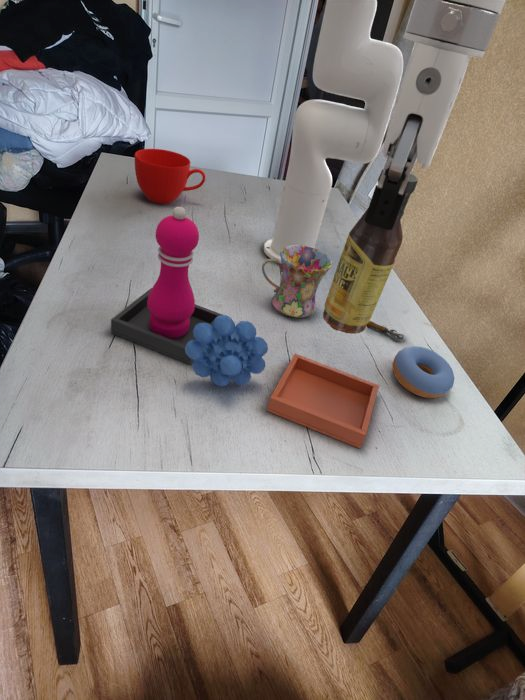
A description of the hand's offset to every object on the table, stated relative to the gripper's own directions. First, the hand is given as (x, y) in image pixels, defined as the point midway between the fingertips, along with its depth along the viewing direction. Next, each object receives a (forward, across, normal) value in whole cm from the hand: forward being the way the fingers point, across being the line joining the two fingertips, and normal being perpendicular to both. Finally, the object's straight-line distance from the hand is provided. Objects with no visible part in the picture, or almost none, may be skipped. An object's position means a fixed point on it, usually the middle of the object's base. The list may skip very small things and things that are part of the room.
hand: (382, 217), depth 54 cm
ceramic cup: (+28, +50, +53) cm, 78 cm away
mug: (+28, +21, +12) cm, 37 cm away
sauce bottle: (+15, 0, 0) cm, 15 cm away
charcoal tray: (+28, +2, +26) cm, 38 cm away
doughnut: (+28, +13, -14) cm, 34 cm away
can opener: (+28, +24, -6) cm, 37 cm away
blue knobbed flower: (+28, -6, +13) cm, 32 cm away
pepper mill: (+28, +2, +26) cm, 38 cm away
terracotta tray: (+28, -1, -1) cm, 28 cm away
